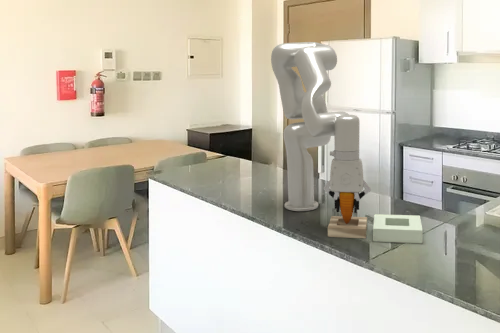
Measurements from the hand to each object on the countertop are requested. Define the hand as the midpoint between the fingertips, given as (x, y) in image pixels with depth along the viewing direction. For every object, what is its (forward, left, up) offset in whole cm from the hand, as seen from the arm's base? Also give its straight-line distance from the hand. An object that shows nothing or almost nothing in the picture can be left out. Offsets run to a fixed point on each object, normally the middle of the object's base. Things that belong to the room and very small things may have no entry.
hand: (346, 210), depth 162 cm
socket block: (0, 0, -7) cm, 7 cm away
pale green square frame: (+1, +15, -7) cm, 17 cm away
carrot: (0, 0, -5) cm, 5 cm away
